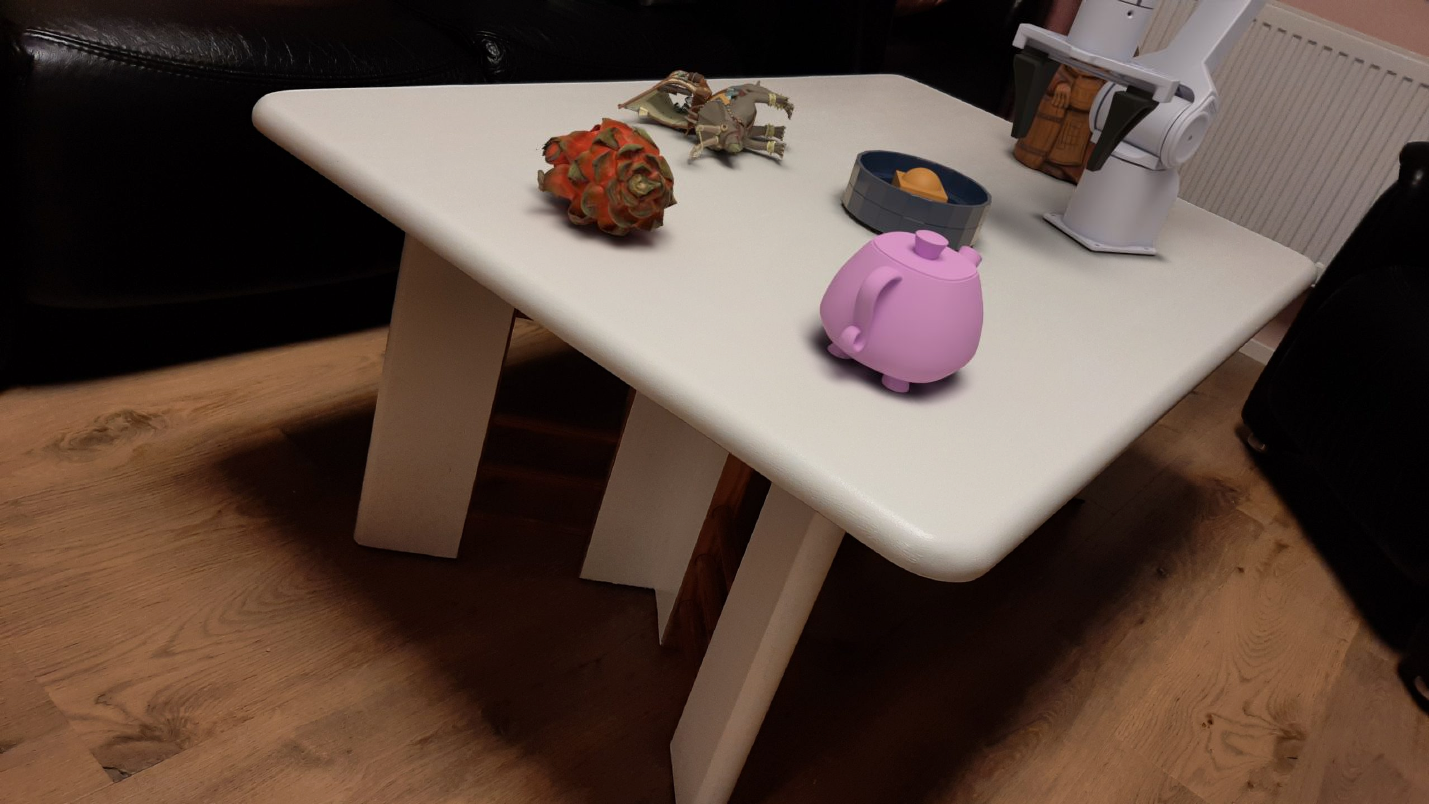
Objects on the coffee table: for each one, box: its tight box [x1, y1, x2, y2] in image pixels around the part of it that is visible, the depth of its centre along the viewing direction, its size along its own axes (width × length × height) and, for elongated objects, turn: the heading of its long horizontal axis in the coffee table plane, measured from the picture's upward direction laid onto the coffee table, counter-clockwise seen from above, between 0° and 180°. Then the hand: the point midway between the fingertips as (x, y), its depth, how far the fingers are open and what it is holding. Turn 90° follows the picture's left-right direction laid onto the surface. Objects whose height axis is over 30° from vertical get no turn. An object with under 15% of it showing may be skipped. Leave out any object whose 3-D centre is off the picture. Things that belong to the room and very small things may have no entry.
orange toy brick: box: [891, 168, 948, 203], centre depth 94 cm, size 8×4×5 cm, turn 174°
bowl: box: [841, 149, 993, 251], centre depth 96 cm, size 13×13×4 cm
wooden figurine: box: [1013, 27, 1140, 185], centre depth 123 cm, size 12×6×18 cm, turn 55°
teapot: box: [819, 230, 984, 393], centre depth 69 cm, size 10×15×9 cm
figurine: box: [617, 69, 795, 160], centre depth 102 cm, size 20×6×17 cm
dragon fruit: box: [535, 117, 678, 237], centre depth 77 cm, size 8×8×12 cm
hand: (1054, 153), depth 94 cm, fingers open, 7 cm apart
